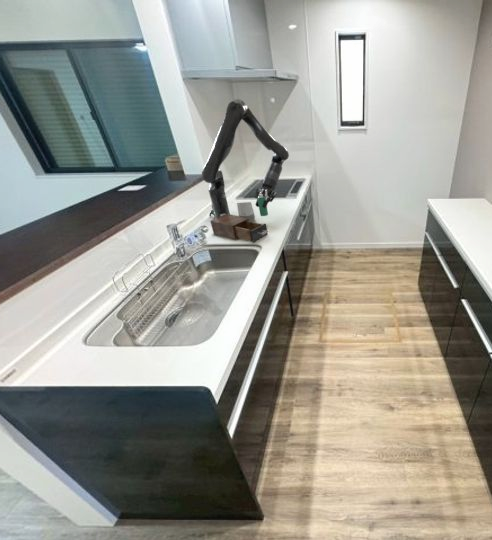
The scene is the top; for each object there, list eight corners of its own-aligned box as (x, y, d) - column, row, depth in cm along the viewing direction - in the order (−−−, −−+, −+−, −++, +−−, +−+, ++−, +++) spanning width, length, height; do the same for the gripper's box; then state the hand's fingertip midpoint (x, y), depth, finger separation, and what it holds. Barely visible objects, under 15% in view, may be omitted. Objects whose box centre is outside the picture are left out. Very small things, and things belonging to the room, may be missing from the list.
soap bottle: (258, 215, 172) (255, 195, 166) (263, 213, 175) (260, 193, 169) (264, 216, 170) (260, 196, 164) (269, 214, 173) (266, 193, 167)
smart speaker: (256, 219, 193) (252, 197, 185) (254, 224, 185) (250, 202, 178) (241, 220, 192) (236, 199, 184) (239, 225, 184) (234, 203, 177)
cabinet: (251, 232, 175) (249, 218, 170) (235, 240, 165) (232, 225, 161) (230, 227, 182) (227, 213, 178) (213, 234, 173) (210, 220, 168)
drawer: (273, 236, 167) (271, 224, 163) (259, 244, 158) (257, 232, 155) (246, 230, 175) (244, 219, 172) (231, 237, 167) (229, 226, 163)
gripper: (257, 175, 171) (246, 202, 168) (277, 177, 165) (266, 205, 162) (265, 182, 177) (255, 208, 175) (284, 185, 171) (273, 211, 169)
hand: (260, 206), depth 168 cm, fingers closed on soap bottle, 4 cm apart
